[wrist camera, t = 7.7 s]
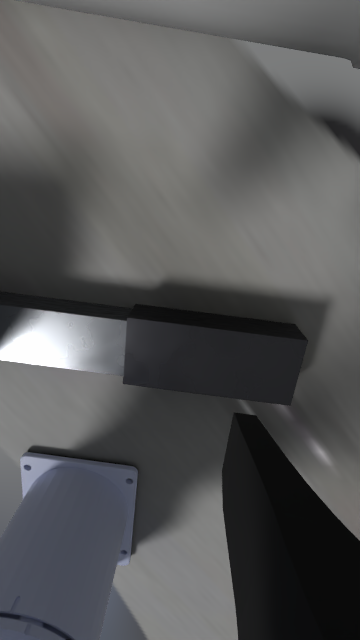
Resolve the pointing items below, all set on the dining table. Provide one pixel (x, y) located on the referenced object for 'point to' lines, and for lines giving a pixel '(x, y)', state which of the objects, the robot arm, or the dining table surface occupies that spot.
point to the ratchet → (156, 346)
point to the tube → (245, 20)
